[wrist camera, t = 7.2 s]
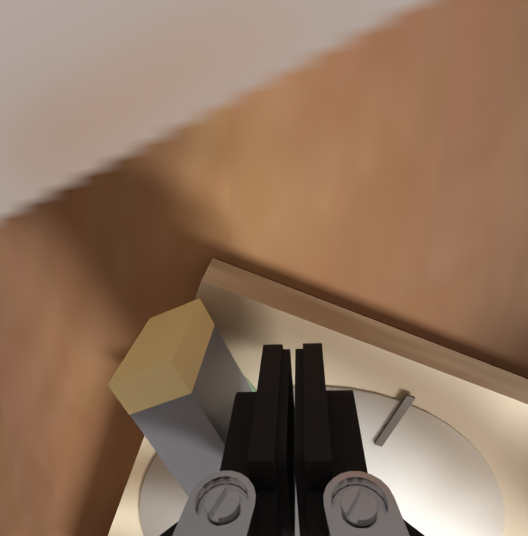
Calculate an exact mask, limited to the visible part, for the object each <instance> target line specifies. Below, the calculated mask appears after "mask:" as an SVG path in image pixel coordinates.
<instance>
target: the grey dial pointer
mask: <svg viewBox="0 0 528 536" xmlns="http://www.w3.org/2000/svg"><path fill="white" fill-rule="evenodd" d="M107 385H108V386H109V388H110V389H111V390H112V392H113V393H114V395H115V396H116V397H117V399H118V400H119V402H120V403H121V404H122V406H123V407H124V409H125V410H126V411H127V413H128V414H129V415H130V416H131V417H132V419H133V420H134V422H135V423H136V424H137V426H138V427H139V429H140V430H141V431H142V433H143V434H144V436H145V437H146V438H147V440H148V441H149V442H150V444H151V445H152V447H153V448H154V449H155V451H156V452H157V454H158V455H159V456H160V458H161V459H162V461H163V462H164V463H165V465H166V466H167V468H168V469H169V470H170V472H171V473H172V475H173V476H174V477H175V479H176V480H177V482H178V483H179V484H180V486H181V487H182V489H183V490H184V491H185V493H186V494H187V496H188V497H189V495H190V494H191V492H192V490H193V489H194V487H195V486H196V485H197V484H198V483H199V482H200V481H201V480H202V479H203V478H205V477H206V476H208V475H210V474H212V473H215V472H219V471H220V467H221V462H222V457H223V453H224V448H225V443H226V438H227V433H228V428H229V423H230V419H231V414H232V409H233V404H234V399H235V395H236V393H237V392H253V391H252V390H251V388H250V386H249V384H248V383H247V381H246V379H245V377H244V375H243V374H242V372H241V370H240V368H239V367H238V365H237V363H236V361H235V360H234V358H233V356H232V354H231V353H230V351H229V349H228V347H227V346H226V344H225V342H224V340H223V339H222V337H221V335H220V333H219V332H218V330H217V328H216V326H215V324H214V322H213V321H212V319H211V317H210V315H209V314H208V312H207V310H206V308H205V307H204V305H203V303H202V301H201V300H200V298H199V299H197V300H194V301H192V302H189V303H187V304H184V305H182V306H179V307H177V308H174V309H172V310H169V311H167V312H164V313H162V314H159V315H157V316H154V317H152V318H150V319H149V320H148V322H147V323H146V325H145V326H144V328H143V330H142V331H141V333H140V334H139V336H138V337H137V339H136V341H135V342H134V344H133V345H132V347H131V348H130V350H129V352H128V353H127V355H126V356H125V358H124V359H123V361H122V362H121V364H120V366H119V367H118V369H117V370H116V372H115V373H114V375H113V377H112V378H111V380H110V381H109V383H108V384H107ZM295 536H300V530H299V518H298V505H297V493H296V487H295Z"/></svg>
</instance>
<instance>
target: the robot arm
mask: <svg viewBox="0 0 528 536" xmlns="http://www.w3.org/2000/svg"><path fill="white" fill-rule="evenodd" d="M295 487H296V493H297V505H298V518H299V530H300V536H424V535H423V534H422V533H421V532H419V531H418V530H417V529H415V528H414V527H413V526H412V525H410V524H409V523H408V522H406V521H405V520H404V519H403V518H402V515H401V513H400V510H399V508H398V505H397V503H396V500H395V498H394V496H393V494H392V492H391V490H390V489H389V487H388V486H387V485H386V484H385V483H384V482H383V481H382V480H381V479H379V478H377V477H375V476H373V475H372V474H369V473H368V472H367V466H366V460H365V455H364V449H363V443H362V437H361V432H360V426H359V420H358V415H357V409H356V403H355V398H354V393H353V390H326V384H325V373H324V361H323V350H322V343H303V349H295V406H294V393H293V379H292V366H291V353H290V349H283V345H282V344H269V345H263V350H262V357H261V364H260V371H259V379H258V386H257V392H237V393H236V395H235V399H234V404H233V409H232V414H231V419H230V423H229V428H228V433H227V438H226V443H225V448H224V453H223V457H222V462H221V467H220V471H219V472H215V473H212V474H210V475H208V476H206V477H205V478H203V479H202V480H201V481H200V482H199V483H198V484H197V485H196V486H195V487H194V489H193V490H192V492H191V494H190V495H189V498H188V500H187V502H186V505H185V507H184V509H183V512H182V514H181V516H180V519H179V521H178V522H177V523H175V524H174V525H173V526H171V527H170V528H169V529H167V530H166V531H165V532H163V533H162V534H161V535H160V536H295Z"/></svg>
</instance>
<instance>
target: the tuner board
mask: <svg viewBox="0 0 528 536" xmlns="http://www.w3.org/2000/svg"><path fill="white" fill-rule="evenodd" d="M199 298H200V300H201V301H202V303H203V305H204V307H205V308H206V310H207V312H208V314H209V315H210V317H211V319H212V321H213V322H214V324H215V326H216V328H217V330H218V332H219V333H220V335H221V337H222V339H223V340H224V342H225V344H226V346H227V347H228V349H229V351H230V353H231V354H232V356H233V358H234V360H235V361H236V363H237V365H238V367H239V368H240V370H241V372H242V374H243V375H244V377H245V379H246V381H247V383H248V384H249V386H250V388H251V390H252V391H253V392H257V386H258V379H259V371H260V364H261V357H262V350H263V345H269V344H282V345H283V349H290V353H291V366H292V379H293V393H294V406H295V349H303V343H322V350H323V361H324V373H325V384H326V390H353V393H354V398H355V403H356V409H357V415H358V420H359V426H360V432H361V437H362V443H363V449H364V455H365V460H366V466H367V472H368V473H369V474H372V475H373V476H375V477H377V478H379V479H381V480H382V481H383V482H384V483H385V484H386V485H387V486H388V487H389V489H390V490H391V492H392V494H393V496H394V498H395V500H396V503H397V505H398V508H399V510H400V513H401V515H402V518H403V519H404V520H405V521H406V522H408V523H409V524H410V525H412V526H413V527H414V528H415V529H417V530H418V531H419V532H421V533H422V534H423V535H424V536H528V379H526V378H523V377H521V376H518V375H516V374H513V373H510V372H508V371H505V370H503V369H500V368H497V367H495V366H492V365H490V364H487V363H484V362H482V361H479V360H477V359H474V358H472V357H469V356H466V355H464V354H461V353H459V352H456V351H453V350H451V349H448V348H446V347H443V346H440V345H438V344H435V343H433V342H430V341H427V340H425V339H422V338H420V337H417V336H414V335H412V334H409V333H407V332H404V331H402V330H399V329H396V328H394V327H391V326H389V325H386V324H383V323H381V322H378V321H376V320H373V319H370V318H368V317H365V316H363V315H360V314H357V313H355V312H352V311H350V310H347V309H344V308H342V307H339V306H337V305H334V304H331V303H329V302H326V301H324V300H321V299H319V298H316V297H313V296H311V295H308V294H306V293H303V292H300V291H298V290H295V289H293V288H290V287H287V286H285V285H282V284H280V283H277V282H274V281H272V280H269V279H267V278H264V277H261V276H259V275H256V274H254V273H251V272H249V271H246V270H243V269H241V268H238V267H236V266H233V265H230V264H228V263H225V262H223V261H220V260H217V259H215V258H212V260H211V262H210V264H209V266H208V268H207V270H206V272H205V274H204V276H203V278H202V280H201V283H200V286H199V288H198V291H197V294H196V297H195V299H194V300H197V299H199ZM188 498H189V497H188V496H187V494H186V493H185V491H184V490H183V489H182V487H181V486H180V484H179V483H178V482H177V480H176V479H175V477H174V476H173V475H172V473H171V472H170V470H169V469H168V468H167V466H166V465H165V463H164V462H163V461H162V459H161V458H160V456H159V455H158V454H157V452H156V451H155V449H154V448H153V447H152V445H151V444H150V442H149V441H148V440H147V438H146V437H145V436H144V438H143V441H142V444H141V447H140V449H139V452H138V455H137V457H136V460H135V463H134V466H133V468H132V471H131V474H130V476H129V479H128V482H127V485H126V487H125V490H124V493H123V496H122V498H121V501H120V504H119V506H118V509H117V512H116V515H115V517H114V520H113V523H112V526H111V528H110V531H109V534H108V536H160V535H161V534H162V533H163V532H165V531H166V530H167V529H169V528H170V527H171V526H173V525H174V524H175V523H177V522H178V521H179V519H180V516H181V514H182V512H183V509H184V507H185V505H186V502H187V500H188Z"/></svg>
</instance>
